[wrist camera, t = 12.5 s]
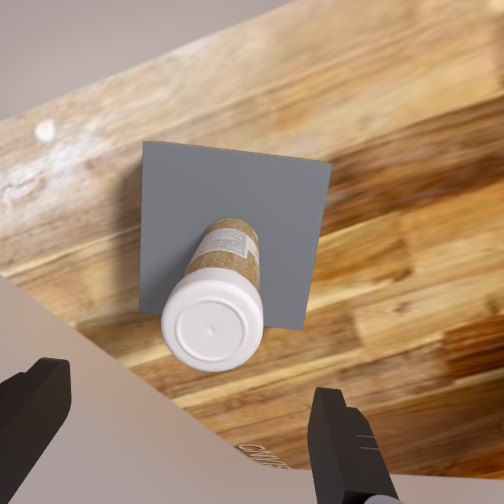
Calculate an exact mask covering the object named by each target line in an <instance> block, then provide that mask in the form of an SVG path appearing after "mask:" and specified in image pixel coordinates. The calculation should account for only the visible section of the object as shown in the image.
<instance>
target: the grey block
mask: <svg viewBox="0 0 504 504" xmlns="http://www.w3.org/2000/svg"><path fill="white" fill-rule="evenodd" d="M331 168H332V164H330V163H327V162H323V161H320V160H312V159H303V158H295V157H287V156H279V155H270V154H262V153H254V152H245V151H237V150H229V149H221V148H212V147H204V146H196V145H187V144H179V143H171V142H163V141H143V158H142V205H141V252H140V299H139V313H143V314H152V315H162V313H163V309H164V307H165V305H166V302H167V300H168V298H169V296H170V294H171V293H172V291H173V289H174V288H175V286H176V285H177V284H178V283H179V282H180V281H181V280H182V279H183V278H184V275H185V272H186V270H187V267H188V266H189V264H190V262H191V260H192V258H193V256H194V254H195V252H196V251H197V249H198V247H199V245H200V244H201V242H202V240H203V237H204V235H205V233H206V231H207V229H208V228H209V227H210V226H211V225H212V224H214V223H215V222H216V221H218V220H221V219H224V218H234V219H240V220H242V221H244V222H245V223H247V224H248V225H250V227H252V228H253V230H254V231H255V233H256V234H257V237H258V241H259V252H258V253H259V276H260V277H259V296H260V299H261V302H262V307H263V326H265V327H275V328H284V329H294V330H303V324H304V319H305V313H306V307H307V302H308V296H309V291H310V285H311V280H312V274H313V268H314V263H315V257H316V252H317V246H318V241H319V235H320V230H321V224H322V218H323V213H324V207H325V202H326V196H327V191H328V185H329V179H330V174H331Z"/></svg>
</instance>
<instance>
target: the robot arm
mask: <svg viewBox="0 0 504 504" xmlns="http://www.w3.org/2000/svg"><path fill="white" fill-rule="evenodd" d="M70 406H71V380H70V364H69V361H67V360H63V359H53V358H41V359H39V360H38V361H37V362H36V363H35V364H34V365H33V366H32V367H31V368H30V369H29V370H28V371H27V372H26V373H24V372H20V373H18V374H16V375H14V376H12V377H11V378H9V379H7V380H5V381H3V382H2V383H1V384H0V504H8V503H9V501H10V500H11V498H12V497H13V495H14V494H15V493H16V491H17V489H18V488H19V486H20V485H21V484H22V482H23V481H24V479H25V478H26V477H27V475H28V473H29V472H30V471H31V469H32V468H33V466H34V465H35V463H36V462H37V461H38V459H39V458H40V456H41V455H42V453H43V452H44V450H45V449H46V447H47V446H48V445H49V443H50V442H51V440H52V439H53V437H54V436H55V434H56V433H57V431H58V430H59V428H60V427H61V426H62V424H63V423H64V421H65V420H66V418H67V415H68V413H69V410H70ZM307 439H308V449H309V455H310V461H311V467H312V473H313V479H314V485H315V491H316V496H317V503H318V504H404V503H402V502H400V501H399V498H398V496H397V493H396V491H395V488H394V486H393V483H392V481H391V478H390V476H389V473H388V471H387V468H386V465H385V463H384V460H383V458H382V455H381V453H380V451H379V450H378V445H377V443H376V440H375V439H374V435H373V433H372V430H371V428H370V425H369V423H368V421H367V420H366V418H365V417H364V416H363V415H362V414H361V413H360V411H359V410H358V409H357V408H352V407H347V406H346V403H345V401H344V398H343V395H342V392H341V390H340V389H331V388H322V387H317V388H316V390H315V394H314V399H313V404H312V409H311V414H310V419H309V424H308V434H307Z"/></svg>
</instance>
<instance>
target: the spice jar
mask: <svg viewBox="0 0 504 504" xmlns="http://www.w3.org/2000/svg"><path fill="white" fill-rule="evenodd" d="M258 252H259V241H258V237H257V234H256V233H255V231H254V230H253V228H252V227H250V225H248V224H247V223H245V222H244V221H242V220H240V219H234V218H224V219H221V220H218V221H216V222H215V223H214V224H212V225H211V226H210V227H209V228H208V229H207V231H206V233H205V235H204V237H203V240H202V242H201V244H200V245H199V247H198V249H197V251H196V252H195V254H194V256H193V258H192V260H191V262H190V264H189V266H188V267H187V270H186V272H185V275H184V278H183V279H182V280H181V281H180V282H179V283H178V284H177V285H176V286H175V288H174V289H173V291H172V293H171V294H170V296H169V298H168V300H167V302H166V305H165V307H164V309H163V313H162V317H161V331H162V336H163V339H164V341H165V343H166V346H167V347H168V349H169V350H170V351H171V353H172V354H173V355H174V356H175V357H176V358H177V359H178V360H180V361H181V362H183V363H184V364H186V365H188V366H190V367H192V368H194V369H197V370H201V371H208V372H220V371H226V370H230V369H232V368H235V367H237V366H239V365H241V364H242V363H244V362H245V361H246V360H248V359H249V358H250V357H251V356H252V355H253V353H254V352H255V351H256V349H257V348H258V346H259V344H260V341H261V338H262V334H263V307H262V302H261V299H260V296H259V277H260V276H259V253H258Z"/></svg>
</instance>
